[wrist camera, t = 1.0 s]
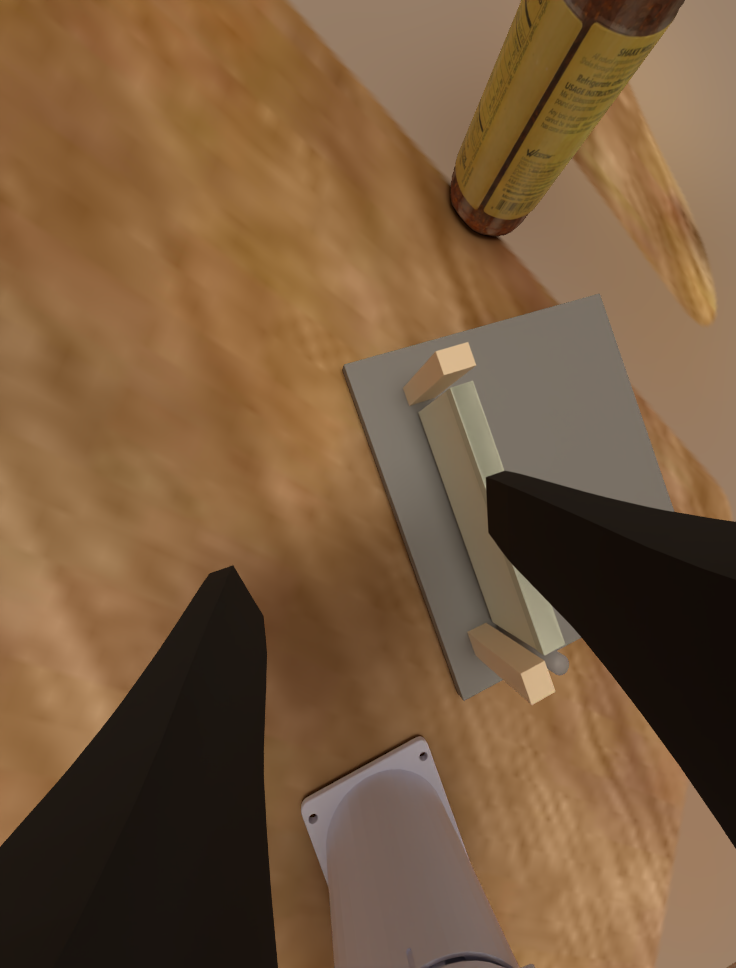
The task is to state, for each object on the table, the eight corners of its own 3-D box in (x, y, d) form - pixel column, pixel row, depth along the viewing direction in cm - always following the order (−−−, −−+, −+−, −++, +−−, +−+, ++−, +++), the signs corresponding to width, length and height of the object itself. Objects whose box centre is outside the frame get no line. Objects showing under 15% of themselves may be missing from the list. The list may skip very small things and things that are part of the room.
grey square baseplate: (684, 573, 25) (798, 594, 20) (457, 693, 21) (517, 766, 16) (590, 300, 25) (678, 238, 19) (342, 369, 21) (358, 318, 15)
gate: (516, 633, 21) (573, 668, 17) (498, 641, 21) (552, 680, 16) (435, 406, 21) (472, 380, 16) (417, 412, 21) (450, 387, 16)
